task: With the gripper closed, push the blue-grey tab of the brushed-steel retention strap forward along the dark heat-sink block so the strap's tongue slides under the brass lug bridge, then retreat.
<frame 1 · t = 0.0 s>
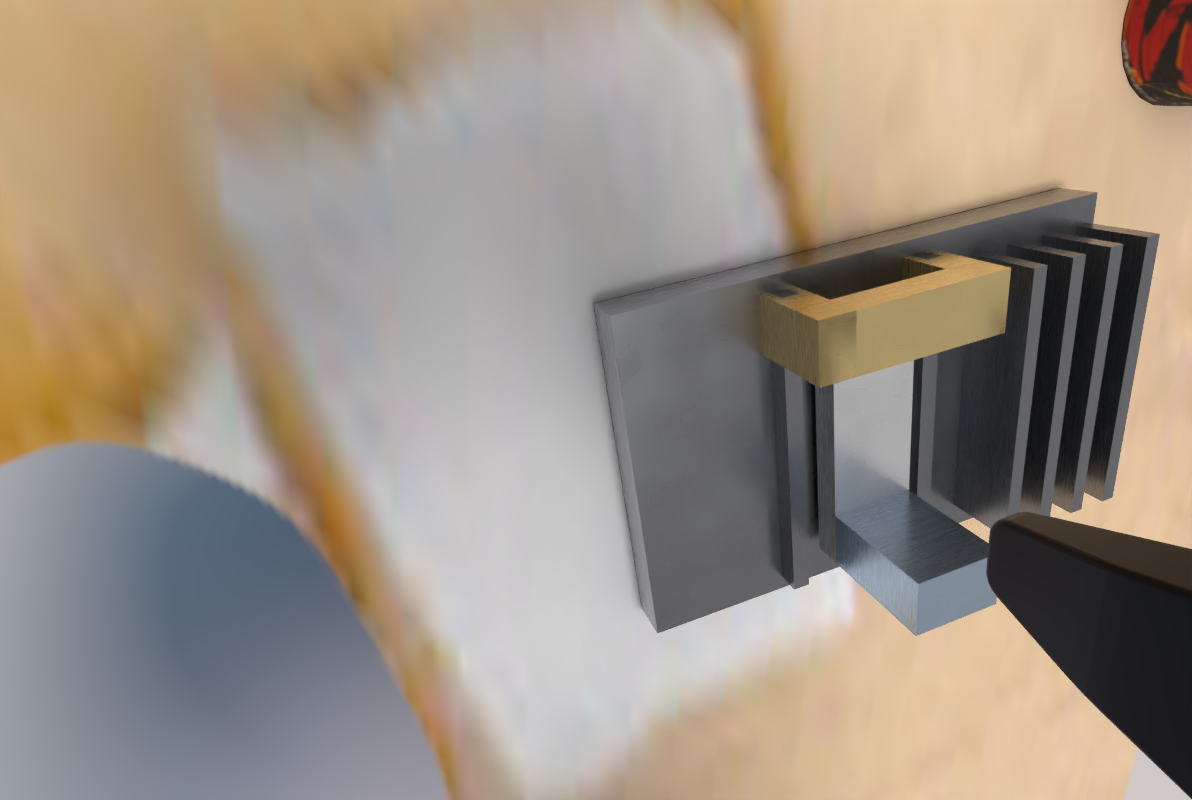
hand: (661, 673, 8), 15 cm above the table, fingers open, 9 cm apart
strap: (903, 486, 23), point 4 cm above the table, slide at 0.0 cm
deodorant: (1182, 15, 25), on the table
heatsink: (846, 401, 26), on the table
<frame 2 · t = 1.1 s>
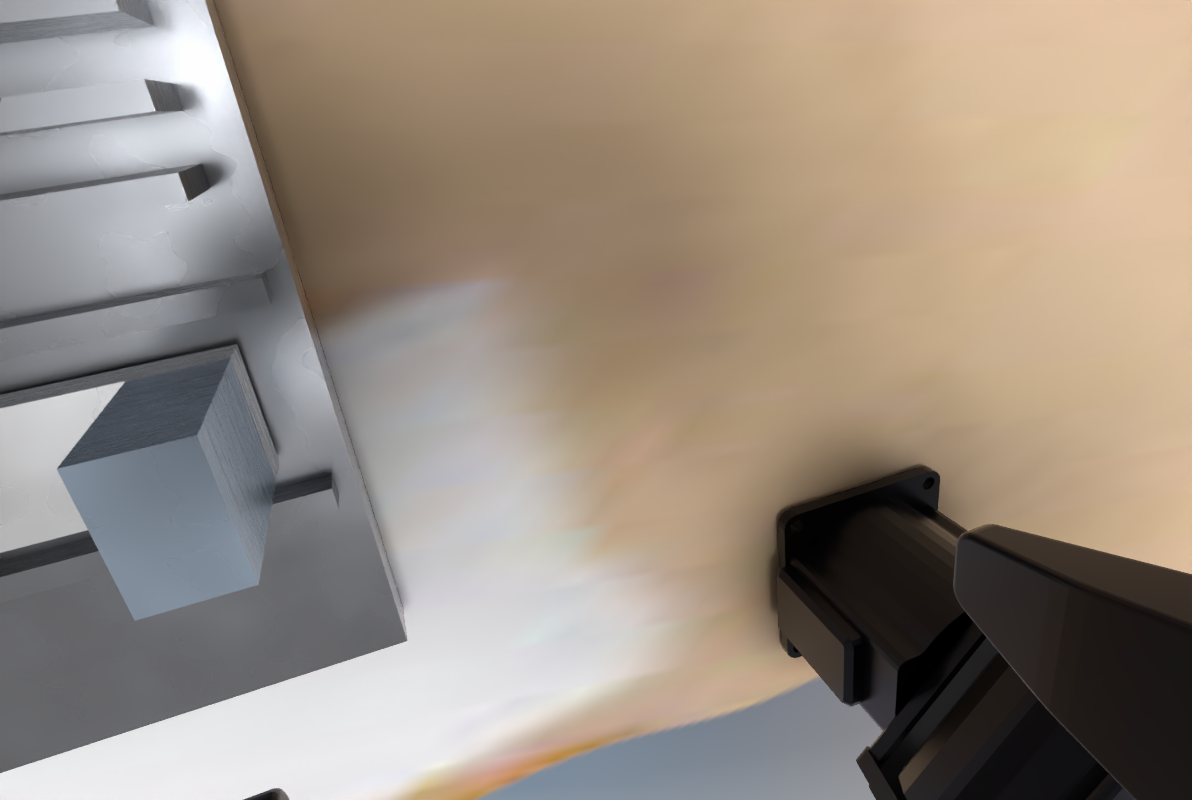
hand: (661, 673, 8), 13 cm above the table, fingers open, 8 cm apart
strap: (48, 500, 13), point 4 cm above the table, slide at 0.0 cm
heatsink: (47, 386, 17), on the table
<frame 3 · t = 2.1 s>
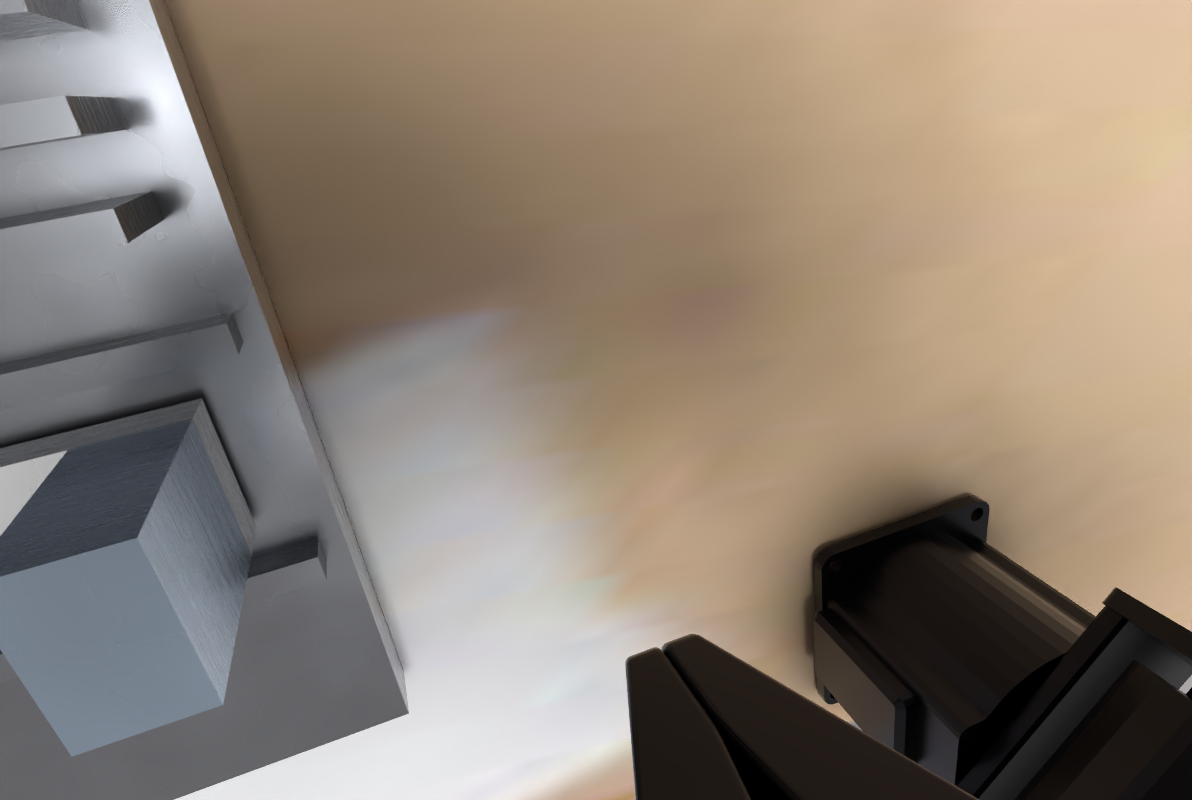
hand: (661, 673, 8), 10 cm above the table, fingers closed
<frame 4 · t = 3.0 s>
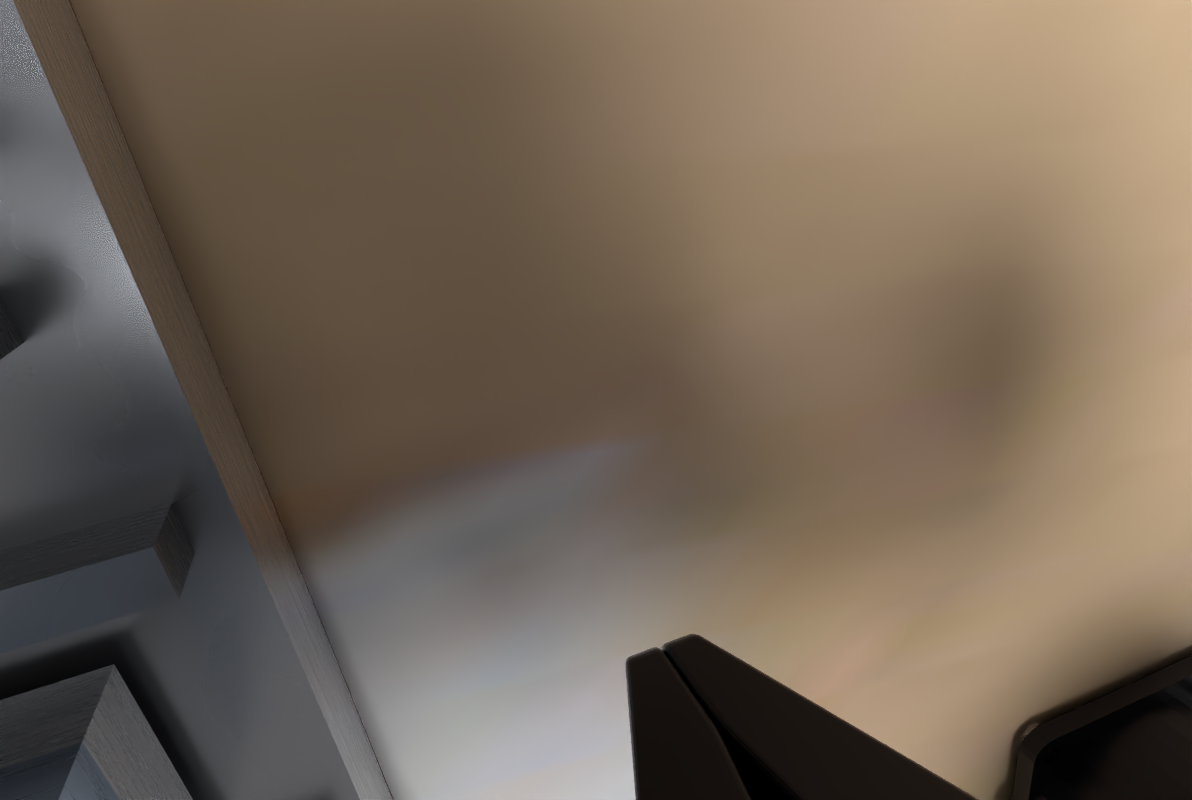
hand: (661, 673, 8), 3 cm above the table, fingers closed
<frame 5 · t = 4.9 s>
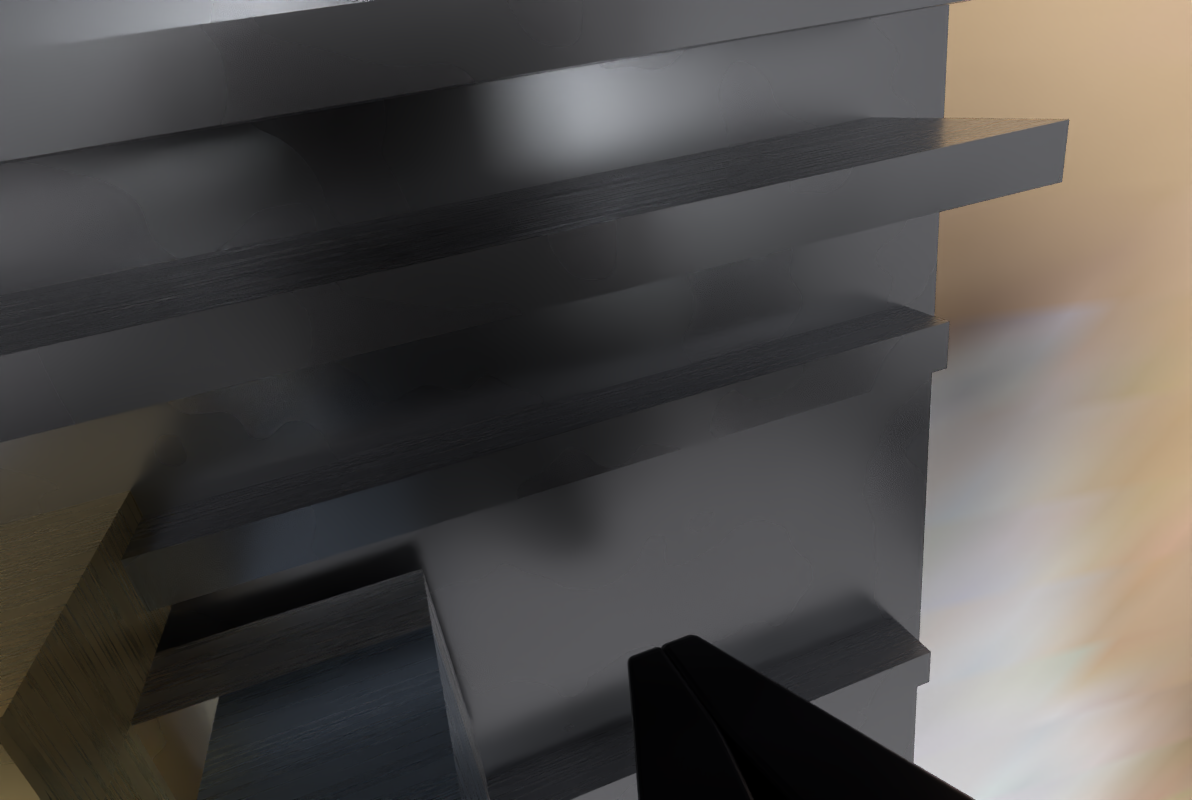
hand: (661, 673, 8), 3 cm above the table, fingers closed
heatsink: (495, 500, 10), on the table
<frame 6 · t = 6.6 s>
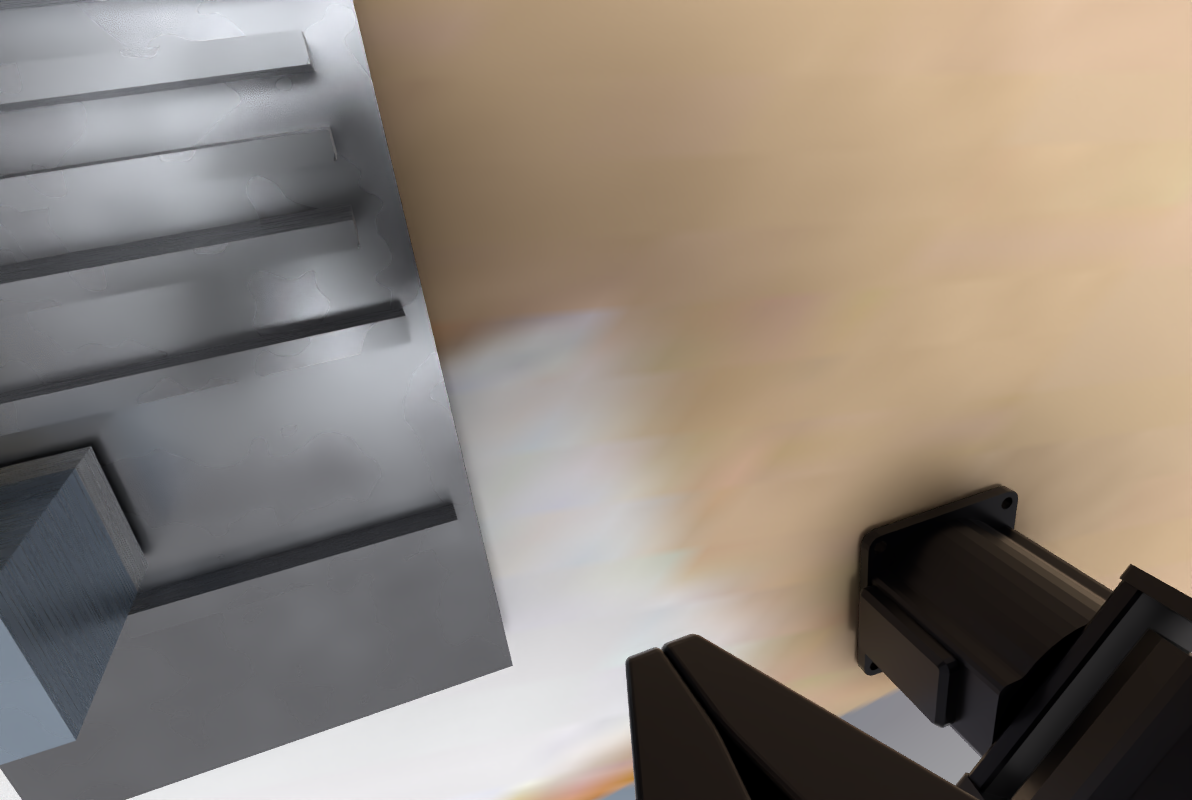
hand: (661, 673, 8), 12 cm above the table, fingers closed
heatsink: (180, 419, 17), on the table
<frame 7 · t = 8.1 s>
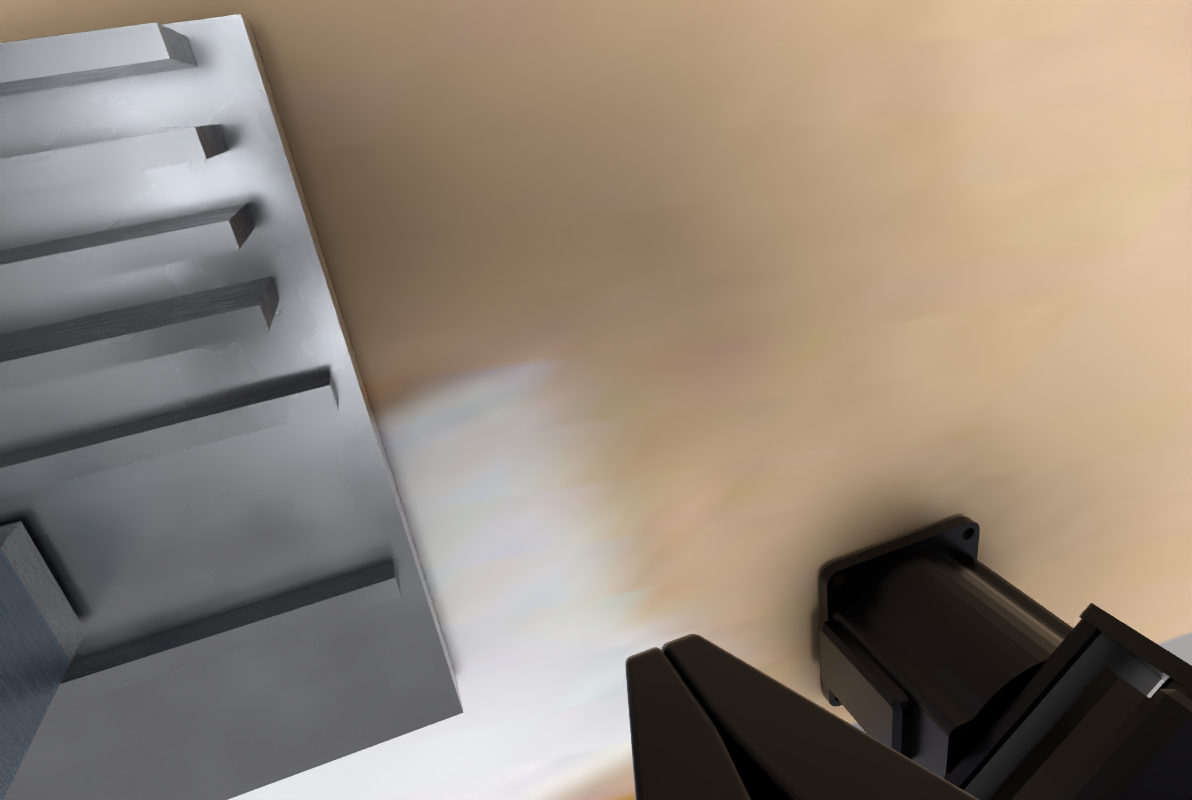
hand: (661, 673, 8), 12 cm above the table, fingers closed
heatsink: (117, 484, 17), on the table
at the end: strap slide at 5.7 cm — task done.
